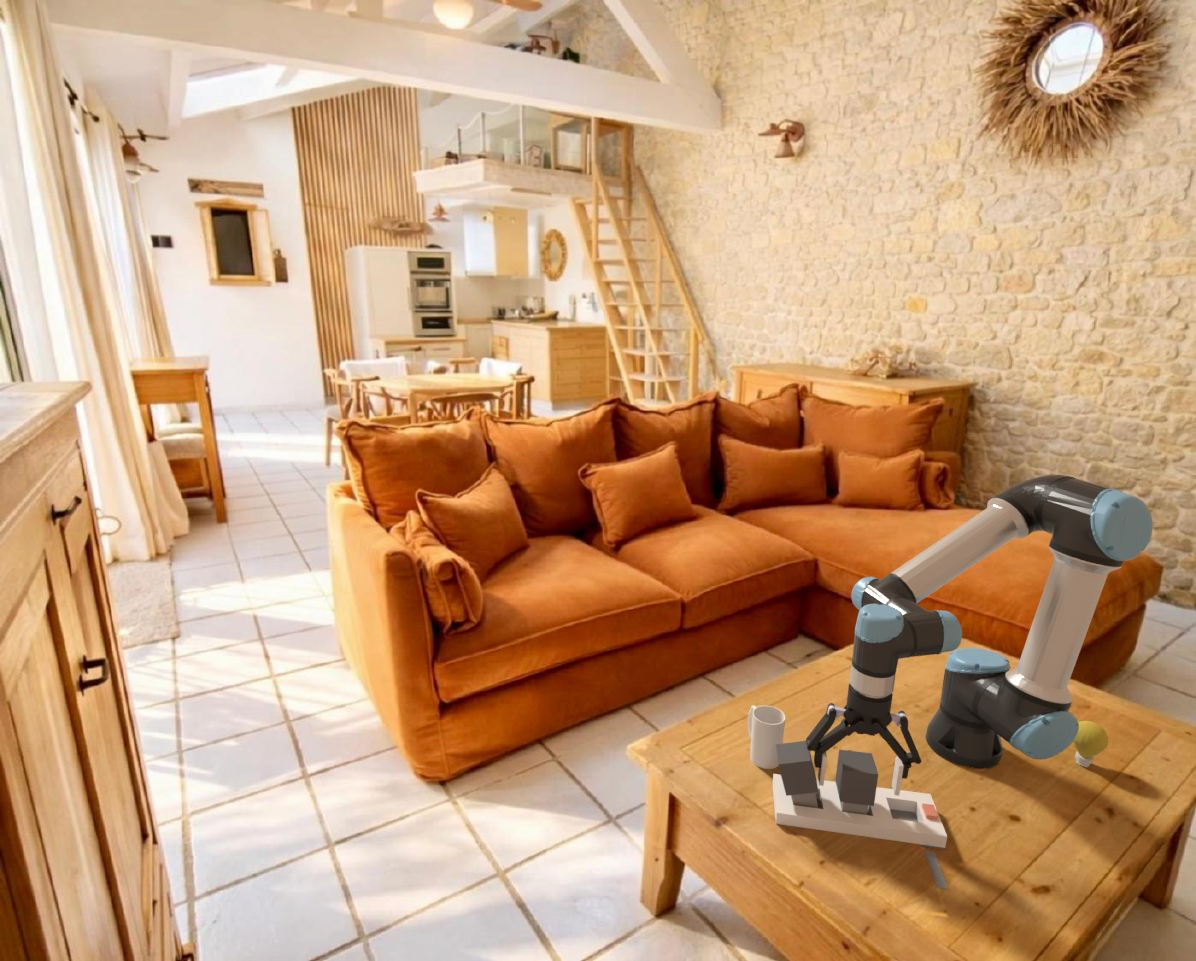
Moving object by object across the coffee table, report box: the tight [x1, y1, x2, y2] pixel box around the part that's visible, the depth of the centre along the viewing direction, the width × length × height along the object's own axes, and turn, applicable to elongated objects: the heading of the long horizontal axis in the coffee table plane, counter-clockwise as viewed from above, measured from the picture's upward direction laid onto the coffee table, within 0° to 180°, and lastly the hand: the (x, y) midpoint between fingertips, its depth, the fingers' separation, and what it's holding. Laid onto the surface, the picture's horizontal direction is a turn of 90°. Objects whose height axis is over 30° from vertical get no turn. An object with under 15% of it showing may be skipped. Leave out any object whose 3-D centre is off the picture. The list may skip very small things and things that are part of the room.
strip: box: [771, 773, 948, 851], centre depth 132 cm, size 30×11×4 cm, turn 80°
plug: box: [834, 749, 879, 815], centre depth 130 cm, size 6×6×12 cm
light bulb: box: [1072, 720, 1109, 768], centre depth 147 cm, size 7×7×10 cm
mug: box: [747, 704, 786, 770], centre depth 147 cm, size 10×7×12 cm, turn 23°
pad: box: [923, 850, 949, 890], centre depth 121 cm, size 8×8×1 cm
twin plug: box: [776, 740, 818, 808], centre depth 132 cm, size 6×6×12 cm
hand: (857, 785), depth 130 cm, fingers open, 13 cm apart
